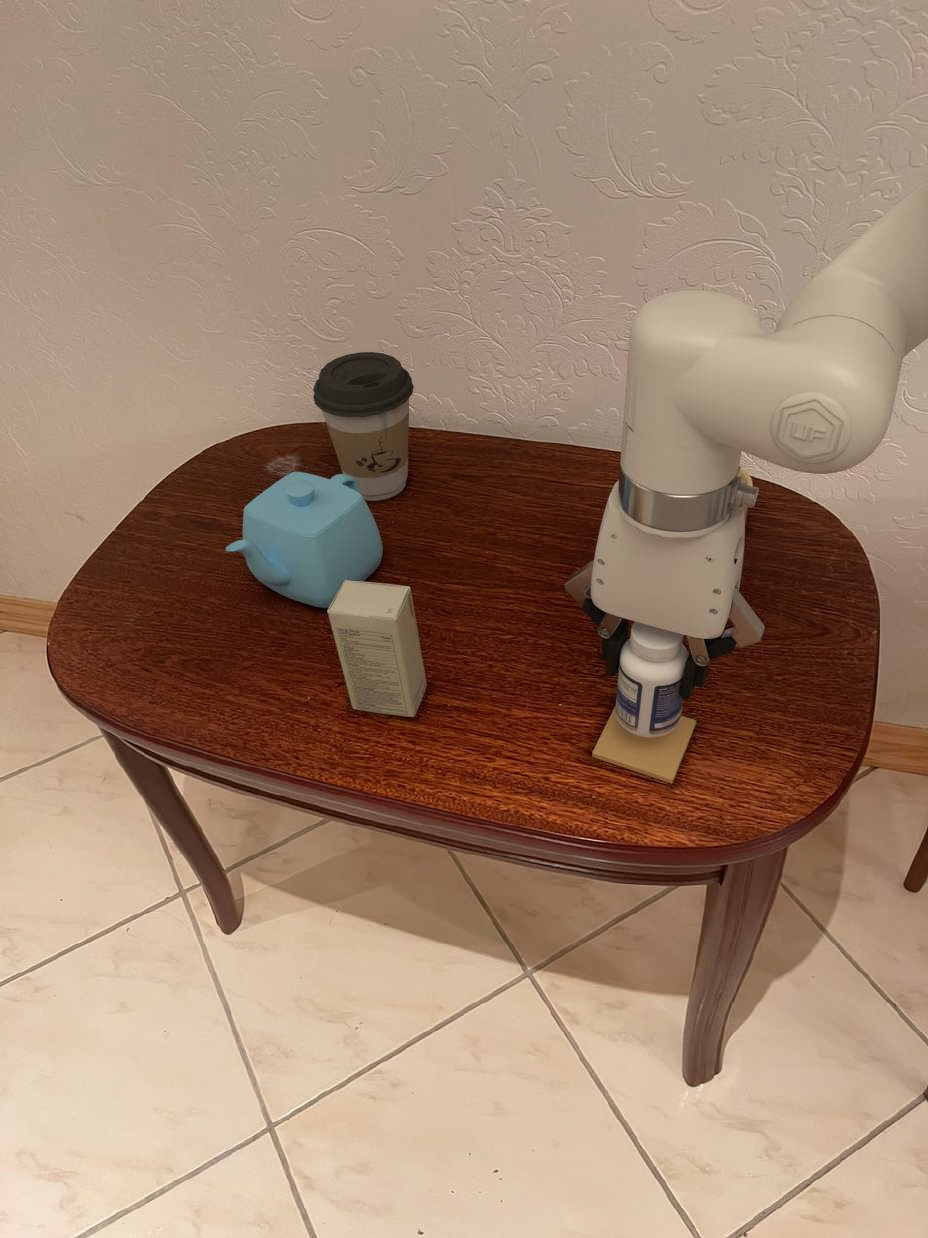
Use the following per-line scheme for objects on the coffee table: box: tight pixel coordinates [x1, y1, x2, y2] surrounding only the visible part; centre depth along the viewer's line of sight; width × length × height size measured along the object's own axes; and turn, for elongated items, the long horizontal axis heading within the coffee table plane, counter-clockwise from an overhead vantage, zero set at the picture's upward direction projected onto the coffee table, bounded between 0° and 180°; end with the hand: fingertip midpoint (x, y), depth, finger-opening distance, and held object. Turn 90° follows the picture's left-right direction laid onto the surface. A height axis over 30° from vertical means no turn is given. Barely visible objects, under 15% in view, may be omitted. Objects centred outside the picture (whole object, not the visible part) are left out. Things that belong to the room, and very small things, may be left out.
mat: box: [591, 704, 697, 785], centre depth 76 cm, size 7×7×1 cm
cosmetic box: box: [326, 580, 428, 718], centre depth 78 cm, size 6×4×12 cm
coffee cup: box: [312, 351, 415, 502], centre depth 103 cm, size 11×11×15 cm
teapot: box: [225, 471, 384, 609], centre depth 91 cm, size 12×18×12 cm
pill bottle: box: [615, 621, 689, 738], centre depth 71 cm, size 5×5×10 cm
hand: (652, 674), depth 71 cm, fingers closed on pill bottle, 5 cm apart
